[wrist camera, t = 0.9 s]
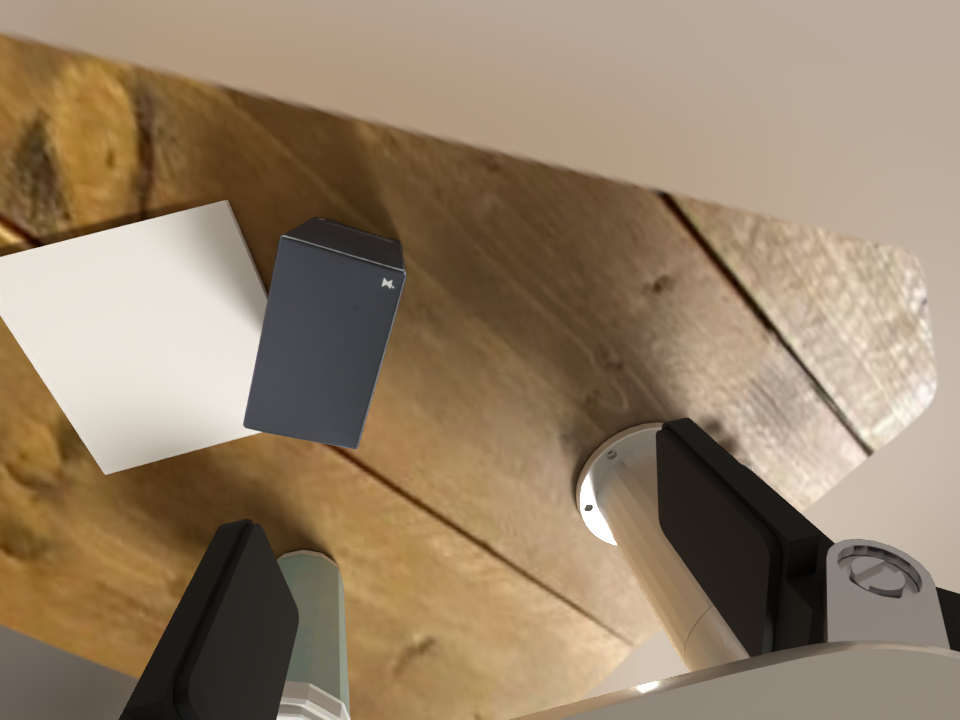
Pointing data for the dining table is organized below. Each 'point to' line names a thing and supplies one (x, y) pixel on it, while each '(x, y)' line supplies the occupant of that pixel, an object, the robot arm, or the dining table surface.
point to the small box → (325, 332)
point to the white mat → (143, 332)
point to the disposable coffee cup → (316, 640)
